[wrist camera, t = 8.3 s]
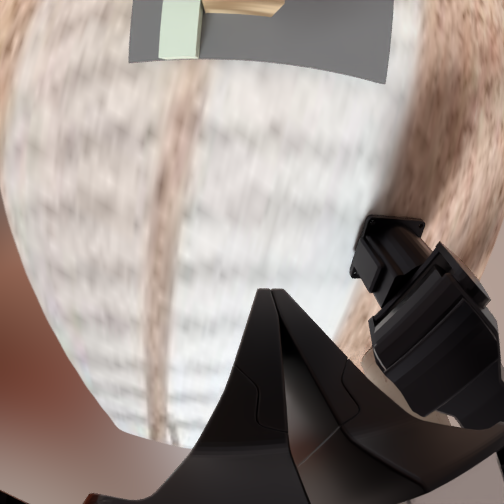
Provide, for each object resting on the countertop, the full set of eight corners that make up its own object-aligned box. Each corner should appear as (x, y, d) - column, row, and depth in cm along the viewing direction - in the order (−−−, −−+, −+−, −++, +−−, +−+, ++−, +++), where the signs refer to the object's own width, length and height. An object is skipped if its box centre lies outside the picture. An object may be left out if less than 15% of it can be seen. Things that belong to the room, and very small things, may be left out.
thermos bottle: (367, 375, 40) (417, 535, 17) (354, 355, 35) (414, 547, 12) (413, 351, 38) (475, 507, 15) (407, 326, 33) (485, 514, 11)
